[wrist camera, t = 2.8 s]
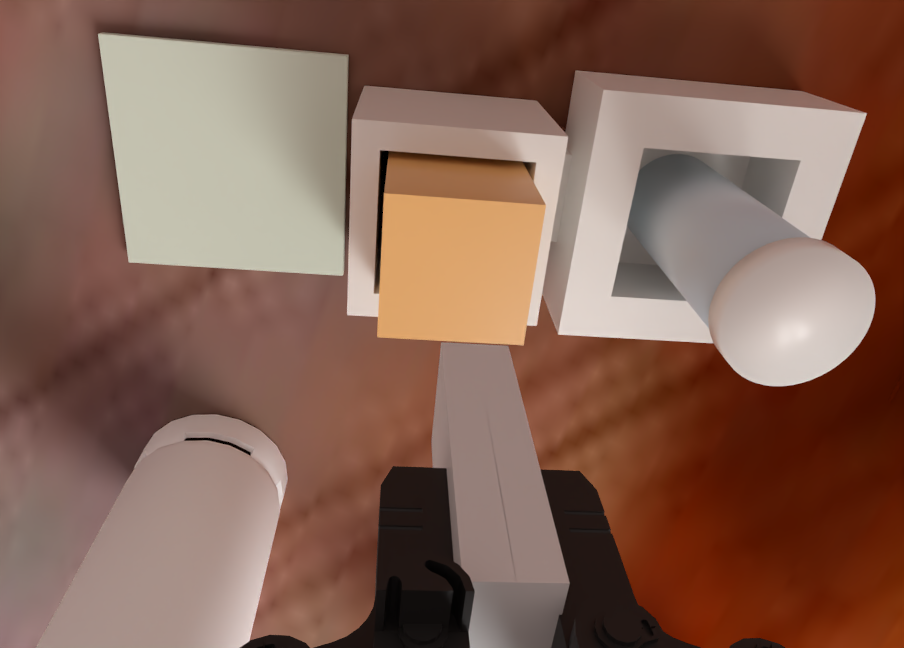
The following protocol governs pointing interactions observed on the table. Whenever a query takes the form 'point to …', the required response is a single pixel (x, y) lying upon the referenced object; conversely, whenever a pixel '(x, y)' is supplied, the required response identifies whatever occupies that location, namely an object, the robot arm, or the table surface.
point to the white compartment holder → (606, 180)
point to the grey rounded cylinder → (751, 273)
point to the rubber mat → (229, 153)
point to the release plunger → (458, 248)
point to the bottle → (180, 544)
